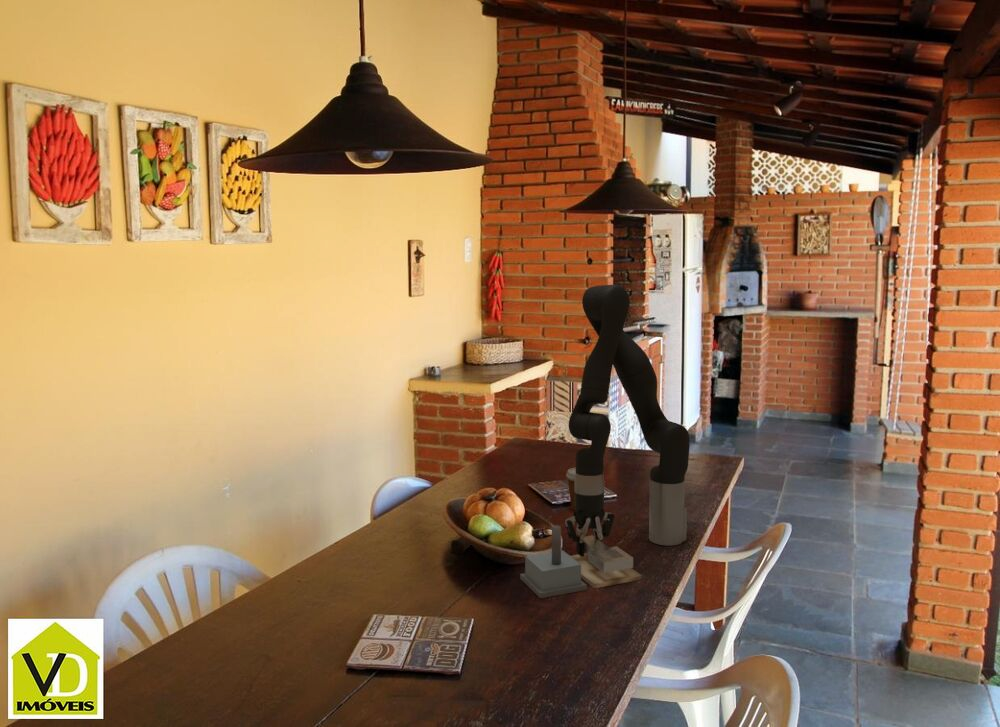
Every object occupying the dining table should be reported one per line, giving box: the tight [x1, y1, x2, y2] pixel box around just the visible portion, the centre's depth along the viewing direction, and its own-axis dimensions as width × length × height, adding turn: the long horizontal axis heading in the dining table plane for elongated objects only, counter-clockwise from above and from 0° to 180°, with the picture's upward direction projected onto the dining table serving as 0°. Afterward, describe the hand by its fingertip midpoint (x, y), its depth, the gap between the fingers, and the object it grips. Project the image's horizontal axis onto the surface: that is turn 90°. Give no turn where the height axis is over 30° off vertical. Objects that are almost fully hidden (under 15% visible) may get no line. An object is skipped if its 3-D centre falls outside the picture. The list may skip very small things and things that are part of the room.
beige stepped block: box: [583, 534, 634, 573], centre depth 196 cm, size 17×8×2 cm, turn 21°
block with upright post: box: [519, 524, 588, 599], centre depth 188 cm, size 12×12×15 cm
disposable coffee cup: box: [565, 467, 576, 512], centre depth 243 cm, size 10×10×12 cm
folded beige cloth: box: [570, 552, 643, 589], centre depth 197 cm, size 13×18×1 cm
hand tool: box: [450, 536, 471, 555], centre depth 216 cm, size 19×4×5 cm, turn 148°
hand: (589, 553), depth 202 cm, fingers closed on beige stepped block, 4 cm apart
